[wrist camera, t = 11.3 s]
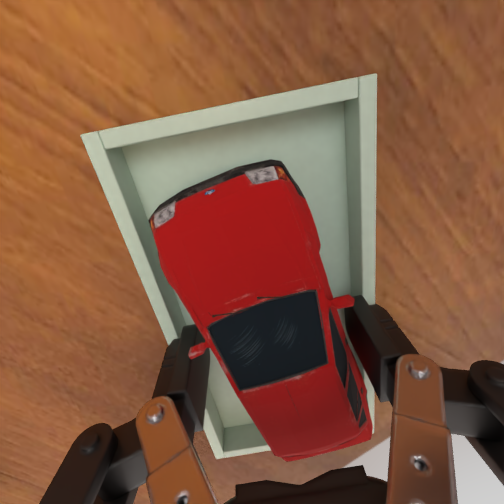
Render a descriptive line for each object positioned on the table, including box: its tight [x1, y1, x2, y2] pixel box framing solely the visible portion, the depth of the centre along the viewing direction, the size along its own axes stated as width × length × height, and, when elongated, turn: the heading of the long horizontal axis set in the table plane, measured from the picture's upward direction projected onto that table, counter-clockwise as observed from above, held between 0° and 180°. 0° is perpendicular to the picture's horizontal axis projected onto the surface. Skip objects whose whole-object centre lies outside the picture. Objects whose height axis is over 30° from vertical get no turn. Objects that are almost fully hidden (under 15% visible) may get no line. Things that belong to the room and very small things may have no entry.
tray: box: [81, 73, 377, 459], centre depth 14 cm, size 10×19×2 cm, turn 10°
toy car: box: [148, 159, 373, 462], centre depth 12 cm, size 6×14×5 cm, turn 21°
